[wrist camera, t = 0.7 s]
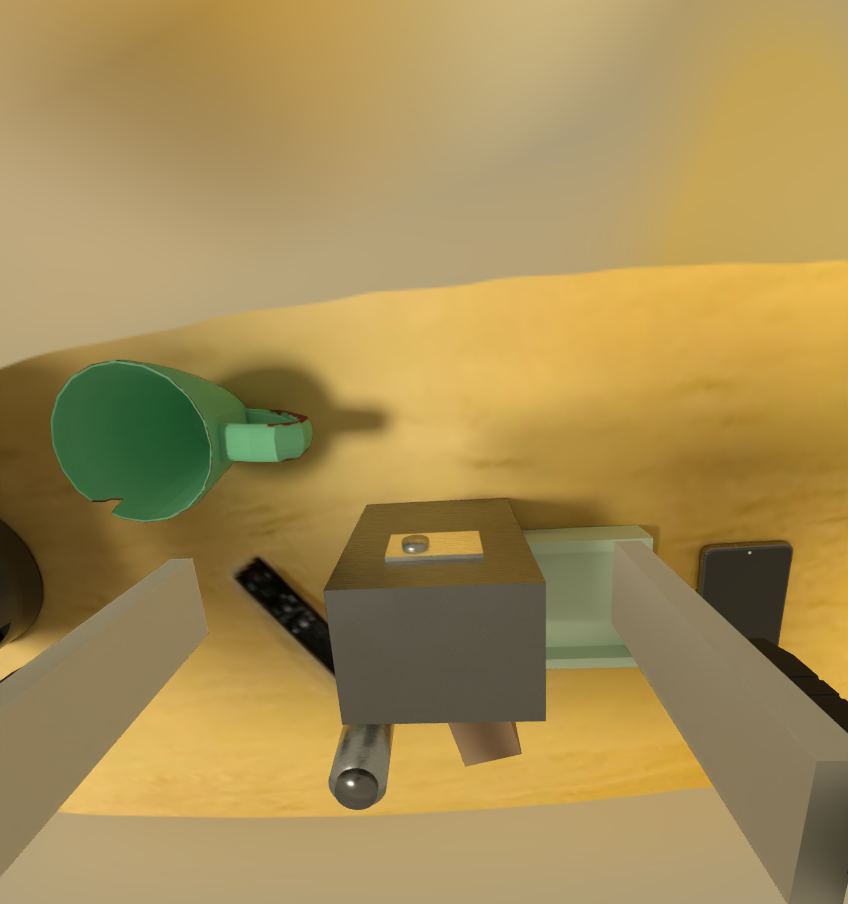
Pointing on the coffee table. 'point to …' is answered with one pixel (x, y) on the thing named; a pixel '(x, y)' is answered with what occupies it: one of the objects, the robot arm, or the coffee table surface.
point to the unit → (438, 616)
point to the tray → (581, 594)
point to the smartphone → (747, 585)
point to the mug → (161, 436)
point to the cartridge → (361, 765)
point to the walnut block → (485, 741)
